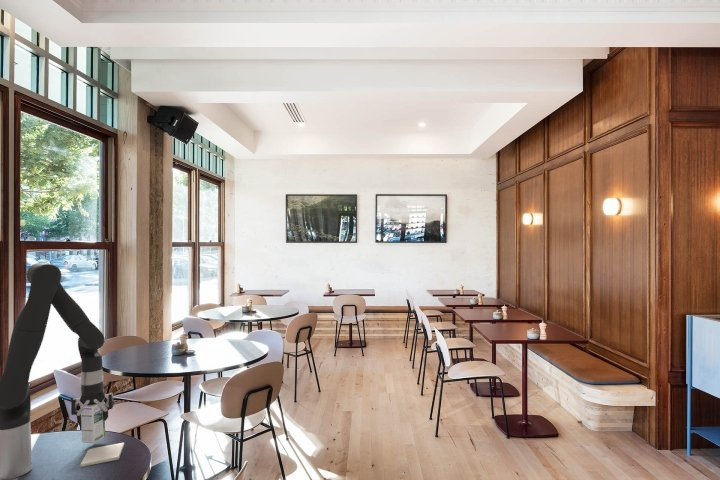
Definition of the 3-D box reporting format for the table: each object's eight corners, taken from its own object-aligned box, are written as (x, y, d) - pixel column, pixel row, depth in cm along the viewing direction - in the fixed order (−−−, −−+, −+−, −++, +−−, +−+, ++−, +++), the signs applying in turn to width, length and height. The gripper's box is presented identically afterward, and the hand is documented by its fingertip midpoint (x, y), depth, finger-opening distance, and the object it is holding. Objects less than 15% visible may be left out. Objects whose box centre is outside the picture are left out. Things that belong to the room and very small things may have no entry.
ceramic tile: (80, 467, 147) (80, 464, 147) (88, 451, 159) (88, 449, 159) (118, 459, 152) (118, 456, 152) (124, 444, 163) (124, 442, 163)
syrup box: (93, 443, 160) (93, 406, 160) (81, 442, 161) (80, 405, 161) (105, 437, 166) (104, 401, 166) (93, 436, 167) (92, 400, 167)
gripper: (68, 386, 158) (69, 429, 157) (111, 381, 163) (111, 422, 163) (73, 381, 165) (74, 421, 164) (114, 375, 170) (115, 415, 170)
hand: (93, 422), depth 164 cm, fingers closed on syrup box, 8 cm apart
